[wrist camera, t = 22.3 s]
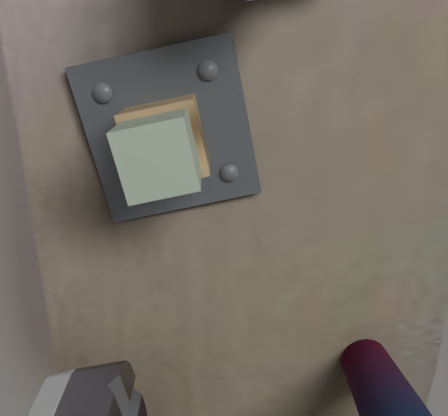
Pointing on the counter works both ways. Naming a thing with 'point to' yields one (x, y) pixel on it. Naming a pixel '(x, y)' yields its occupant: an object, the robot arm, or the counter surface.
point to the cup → (379, 382)
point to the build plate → (165, 89)
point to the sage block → (156, 156)
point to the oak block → (171, 105)
